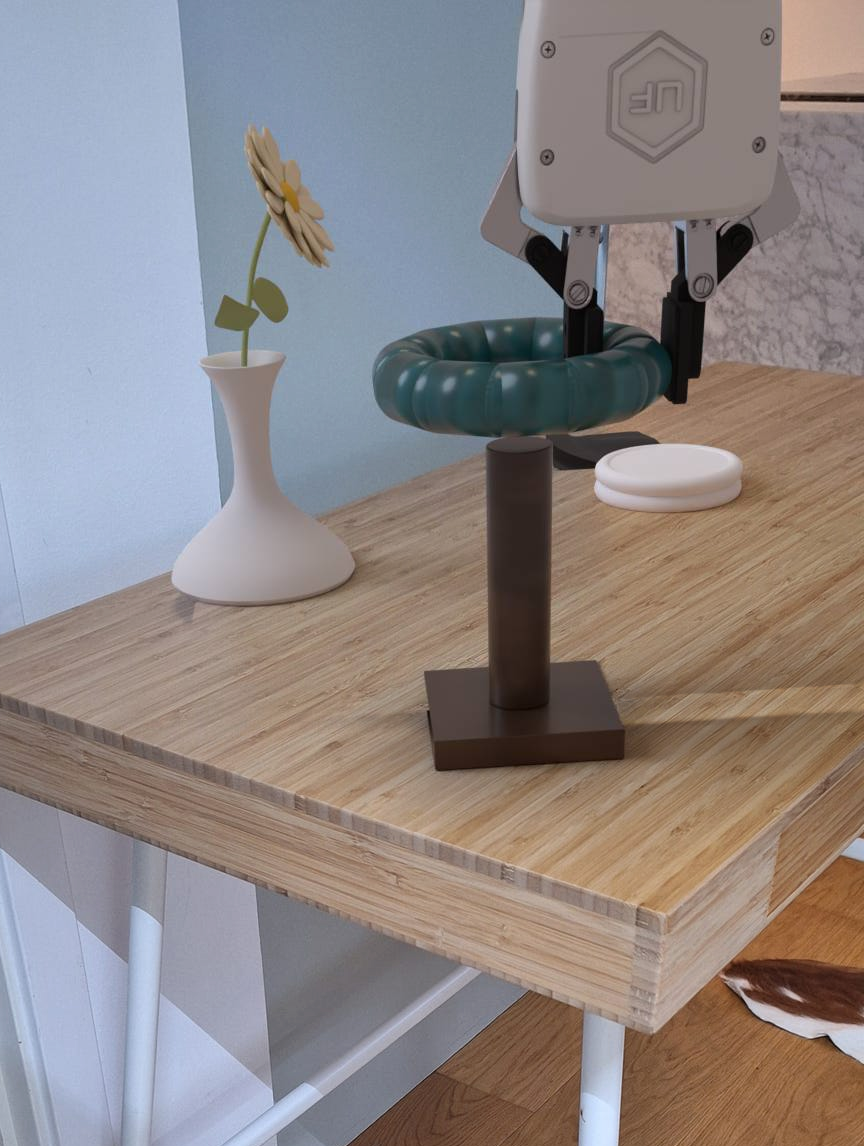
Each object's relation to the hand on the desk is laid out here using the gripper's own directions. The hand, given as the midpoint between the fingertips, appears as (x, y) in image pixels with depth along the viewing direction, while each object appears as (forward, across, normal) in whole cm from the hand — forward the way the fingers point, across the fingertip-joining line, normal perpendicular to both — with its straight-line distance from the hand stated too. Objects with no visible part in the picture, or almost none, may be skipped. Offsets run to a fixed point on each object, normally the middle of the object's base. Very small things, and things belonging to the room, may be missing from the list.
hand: (629, 396), depth 65 cm
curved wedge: (+15, +7, +48) cm, 51 cm away
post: (+15, -5, 0) cm, 16 cm away
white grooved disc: (+15, +9, +35) cm, 39 cm away
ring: (-1, -5, 0) cm, 5 cm away
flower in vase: (+16, -18, +23) cm, 33 cm away
